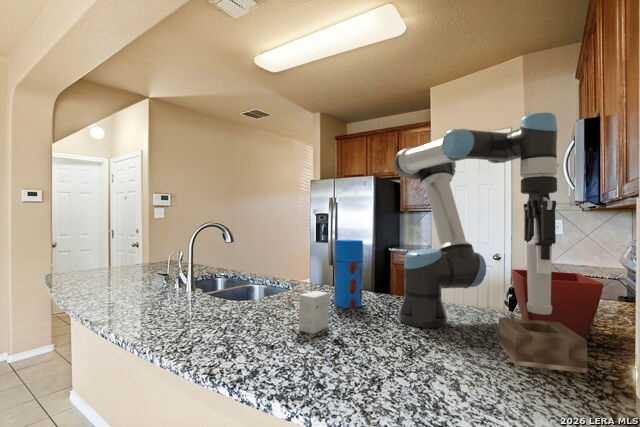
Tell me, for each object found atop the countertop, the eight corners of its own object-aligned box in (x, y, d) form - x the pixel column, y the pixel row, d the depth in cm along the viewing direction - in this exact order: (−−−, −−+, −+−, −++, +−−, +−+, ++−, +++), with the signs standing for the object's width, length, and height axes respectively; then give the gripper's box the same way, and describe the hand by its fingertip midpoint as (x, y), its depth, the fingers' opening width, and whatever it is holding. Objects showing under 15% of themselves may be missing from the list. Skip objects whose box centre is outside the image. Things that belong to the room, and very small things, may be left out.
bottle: (556, 315, 78) (555, 209, 78) (532, 314, 79) (531, 209, 79) (546, 309, 83) (545, 210, 83) (523, 308, 84) (522, 210, 84)
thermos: (332, 301, 134) (333, 239, 134) (358, 300, 135) (359, 239, 135) (336, 308, 123) (337, 241, 123) (365, 307, 124) (365, 241, 125)
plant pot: (605, 346, 89) (605, 282, 89) (523, 336, 95) (523, 277, 96) (578, 325, 106) (577, 272, 107) (510, 318, 113) (510, 269, 113)
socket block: (515, 365, 76) (515, 334, 76) (498, 343, 89) (498, 317, 89) (587, 373, 72) (587, 340, 72) (558, 349, 86) (558, 322, 86)
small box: (314, 323, 104) (314, 290, 104) (329, 327, 101) (329, 292, 101) (298, 330, 97) (298, 294, 98) (313, 334, 94) (313, 297, 94)
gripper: (574, 171, 72) (575, 278, 71) (541, 181, 89) (541, 267, 89) (535, 172, 74) (535, 276, 73) (510, 182, 91) (510, 266, 91)
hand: (538, 271), depth 81 cm, fingers closed on bottle, 5 cm apart
